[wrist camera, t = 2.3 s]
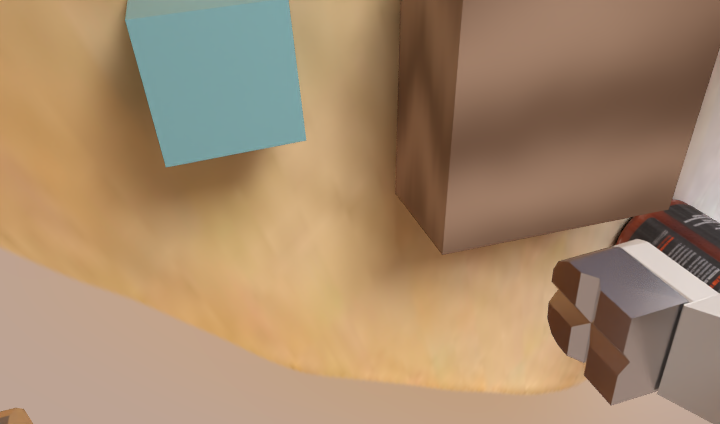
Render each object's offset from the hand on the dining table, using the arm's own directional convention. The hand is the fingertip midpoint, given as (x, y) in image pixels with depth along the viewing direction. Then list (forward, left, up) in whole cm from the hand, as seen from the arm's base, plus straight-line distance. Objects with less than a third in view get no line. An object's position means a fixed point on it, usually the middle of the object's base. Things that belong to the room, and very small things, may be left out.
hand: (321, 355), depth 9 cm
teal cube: (0, 0, -18) cm, 18 cm away
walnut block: (+3, +14, -18) cm, 23 cm away
